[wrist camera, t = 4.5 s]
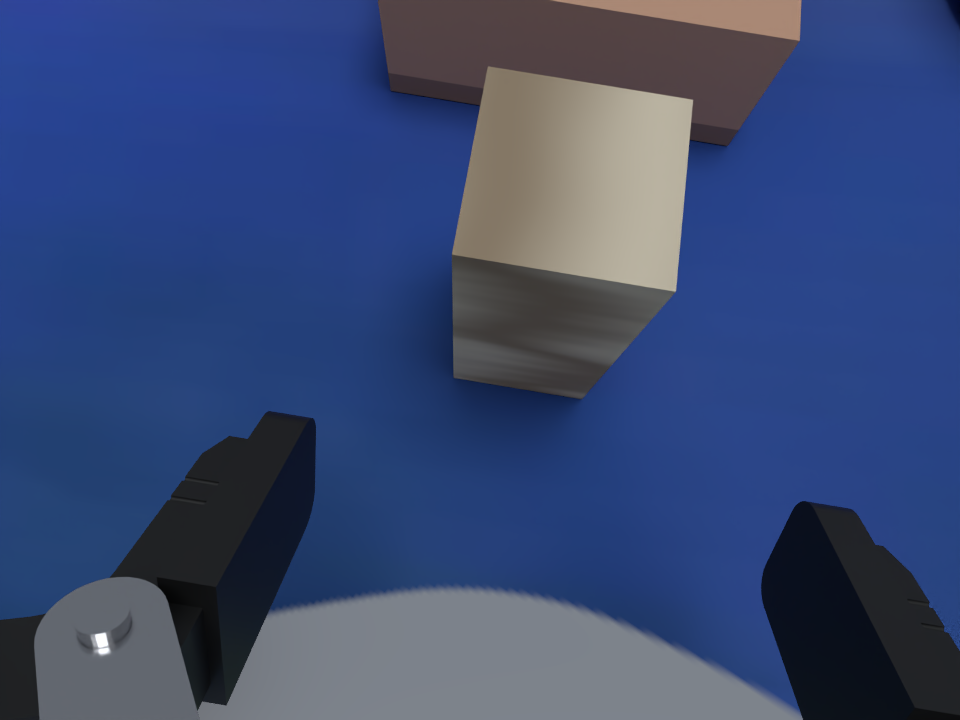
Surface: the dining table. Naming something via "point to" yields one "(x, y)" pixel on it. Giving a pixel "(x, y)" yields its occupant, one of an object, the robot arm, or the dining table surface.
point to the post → (565, 229)
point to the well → (598, 49)
